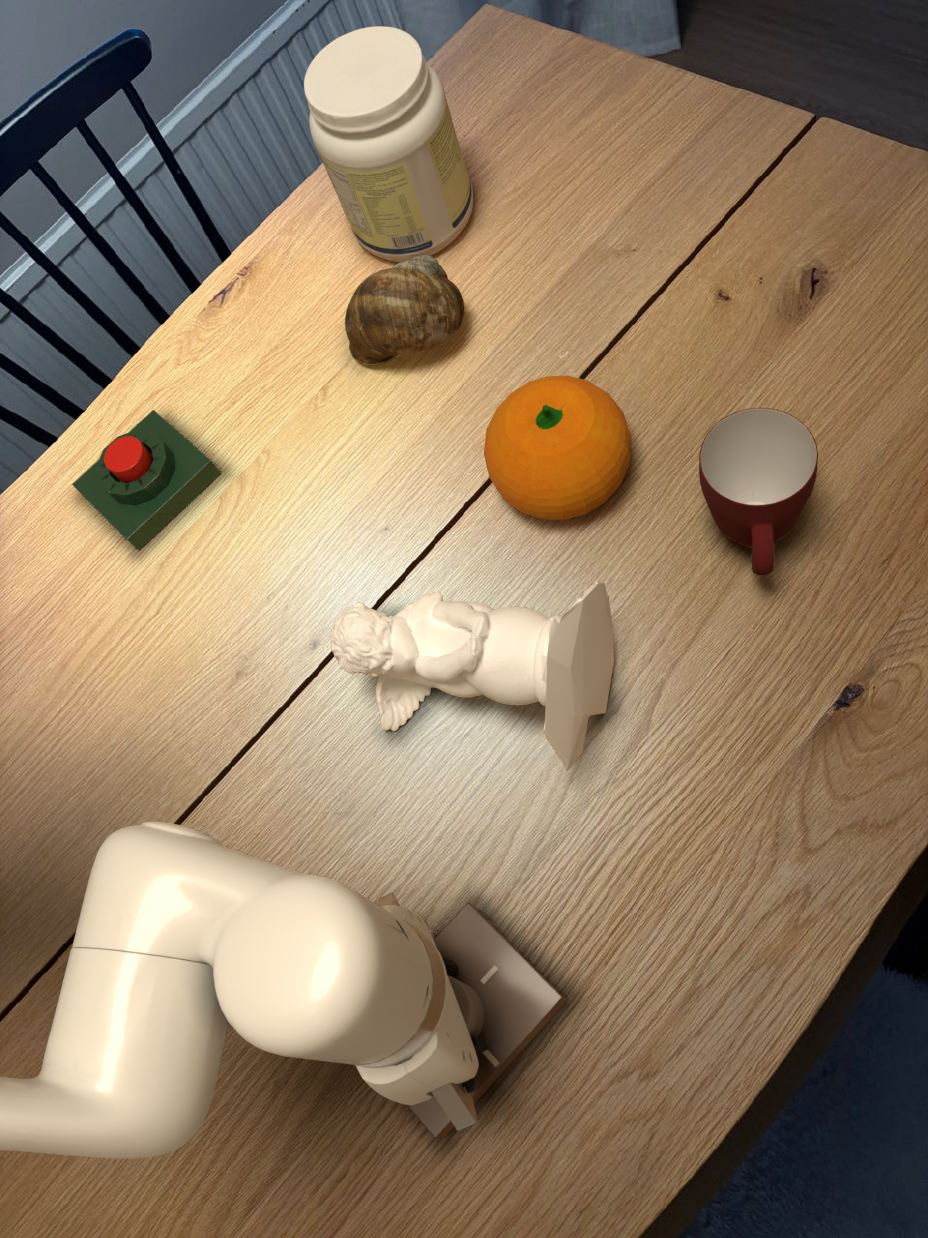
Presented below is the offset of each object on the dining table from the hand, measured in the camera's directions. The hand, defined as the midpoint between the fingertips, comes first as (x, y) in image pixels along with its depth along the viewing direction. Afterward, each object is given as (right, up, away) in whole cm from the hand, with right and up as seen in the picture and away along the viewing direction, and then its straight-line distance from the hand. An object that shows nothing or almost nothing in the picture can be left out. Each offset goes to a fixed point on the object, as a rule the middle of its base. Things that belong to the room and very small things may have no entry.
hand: (450, 1015), depth 73 cm
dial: (0, 0, 0) cm, 0 cm away
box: (-27, +38, +27) cm, 54 cm away
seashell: (-4, +52, +28) cm, 59 cm away
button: (-28, +40, +24) cm, 54 cm away
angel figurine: (+2, +21, +12) cm, 24 cm away
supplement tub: (-4, +65, +34) cm, 73 cm away
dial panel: (+1, -1, +3) cm, 3 cm away
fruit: (+9, +38, +18) cm, 43 cm away
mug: (+24, +32, +12) cm, 42 cm away
